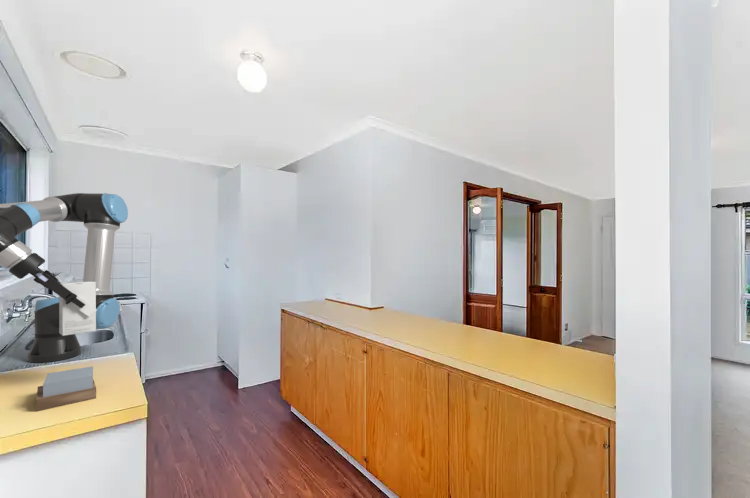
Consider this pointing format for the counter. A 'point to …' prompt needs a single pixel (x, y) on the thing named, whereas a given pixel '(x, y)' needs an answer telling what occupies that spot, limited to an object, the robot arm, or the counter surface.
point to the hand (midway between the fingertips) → (91, 311)
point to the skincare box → (77, 310)
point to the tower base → (63, 398)
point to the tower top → (68, 381)
